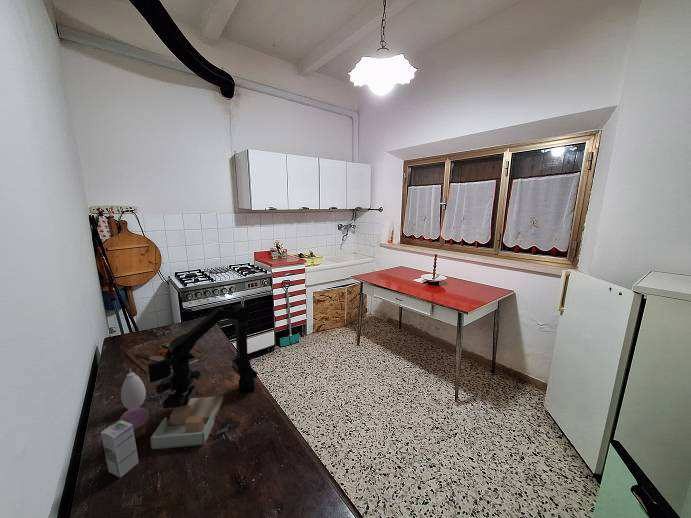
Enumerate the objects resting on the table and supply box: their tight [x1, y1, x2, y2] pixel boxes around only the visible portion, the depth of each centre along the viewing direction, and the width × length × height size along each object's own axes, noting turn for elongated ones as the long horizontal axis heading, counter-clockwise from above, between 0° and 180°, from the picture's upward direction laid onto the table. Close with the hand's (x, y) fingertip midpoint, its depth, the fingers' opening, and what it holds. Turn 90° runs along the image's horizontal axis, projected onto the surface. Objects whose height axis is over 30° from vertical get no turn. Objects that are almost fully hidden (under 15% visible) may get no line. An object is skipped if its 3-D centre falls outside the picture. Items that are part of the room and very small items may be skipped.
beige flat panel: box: [167, 395, 224, 426], centre depth 108 cm, size 16×12×2 cm
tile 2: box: [185, 416, 204, 433], centre depth 98 cm, size 5×5×3 cm
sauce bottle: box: [120, 368, 147, 410], centre depth 109 cm, size 8×8×18 cm
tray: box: [149, 413, 215, 451], centre depth 97 cm, size 17×10×4 cm, turn 97°
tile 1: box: [169, 405, 191, 422], centre depth 102 cm, size 5×5×3 cm
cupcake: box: [118, 407, 150, 440], centre depth 96 cm, size 9×9×10 cm
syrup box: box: [100, 420, 139, 478], centre depth 84 cm, size 6×6×14 cm
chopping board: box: [125, 335, 205, 374], centre depth 153 cm, size 45×27×3 cm, turn 54°
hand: (185, 407), depth 106 cm, fingers closed
